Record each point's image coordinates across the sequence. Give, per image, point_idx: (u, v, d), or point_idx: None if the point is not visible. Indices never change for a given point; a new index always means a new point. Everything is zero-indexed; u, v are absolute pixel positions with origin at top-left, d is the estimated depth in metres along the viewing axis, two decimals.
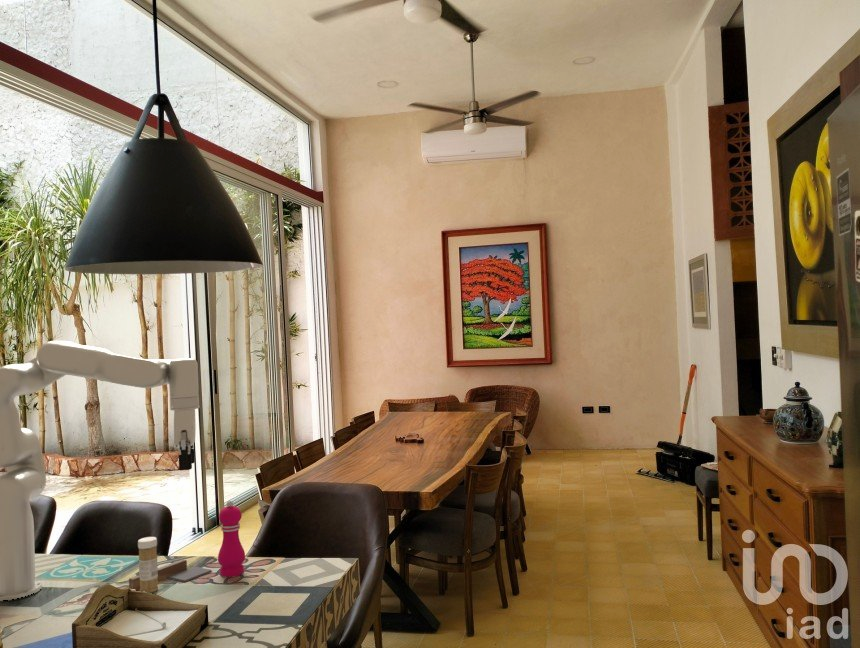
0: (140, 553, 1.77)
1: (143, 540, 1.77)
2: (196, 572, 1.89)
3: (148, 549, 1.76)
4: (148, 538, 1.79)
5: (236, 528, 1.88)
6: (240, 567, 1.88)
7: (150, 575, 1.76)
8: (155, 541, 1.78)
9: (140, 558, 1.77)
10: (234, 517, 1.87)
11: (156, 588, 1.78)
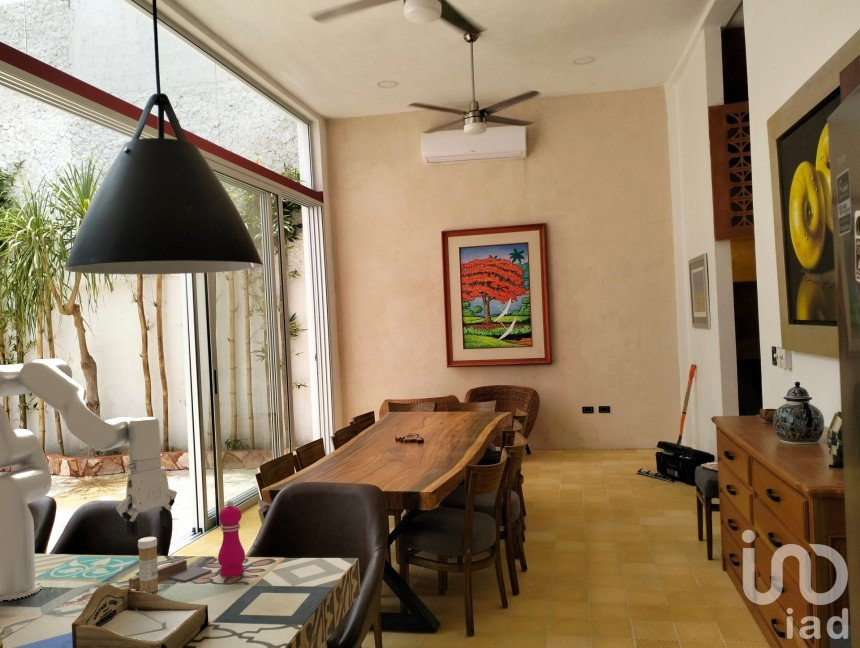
0: (140, 553, 1.77)
1: (143, 540, 1.77)
2: (196, 572, 1.89)
3: (148, 549, 1.76)
4: (148, 538, 1.79)
5: (236, 528, 1.88)
6: (240, 567, 1.88)
7: (150, 575, 1.76)
8: (155, 541, 1.78)
9: (140, 558, 1.77)
10: (234, 517, 1.87)
11: (156, 588, 1.78)
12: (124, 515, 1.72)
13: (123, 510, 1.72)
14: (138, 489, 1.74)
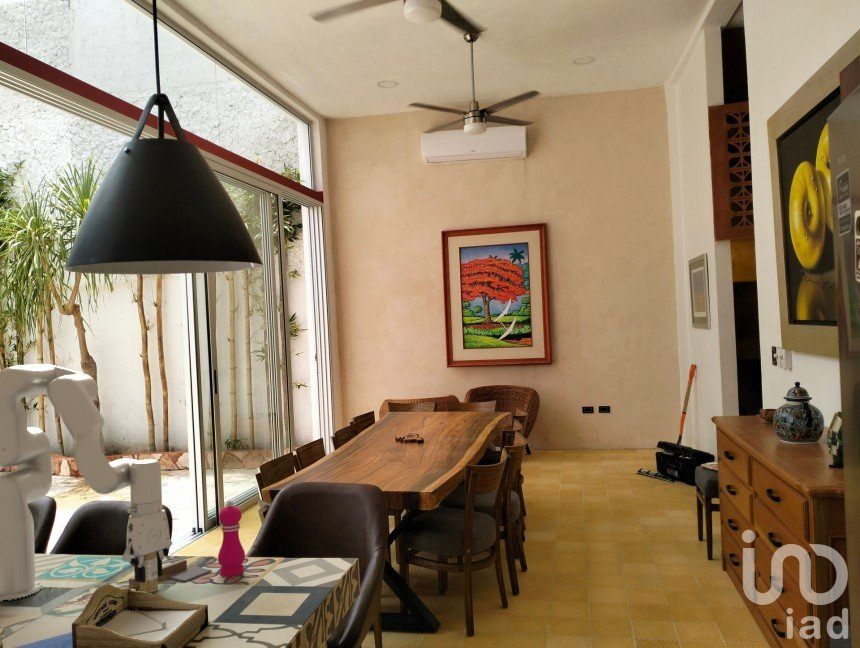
0: None
1: None
2: (196, 572, 1.89)
3: None
4: None
5: (236, 528, 1.88)
6: (240, 567, 1.88)
7: (150, 575, 1.76)
8: None
9: None
10: (234, 517, 1.87)
11: (156, 588, 1.78)
12: (132, 561, 1.73)
13: (129, 558, 1.73)
14: (138, 533, 1.73)
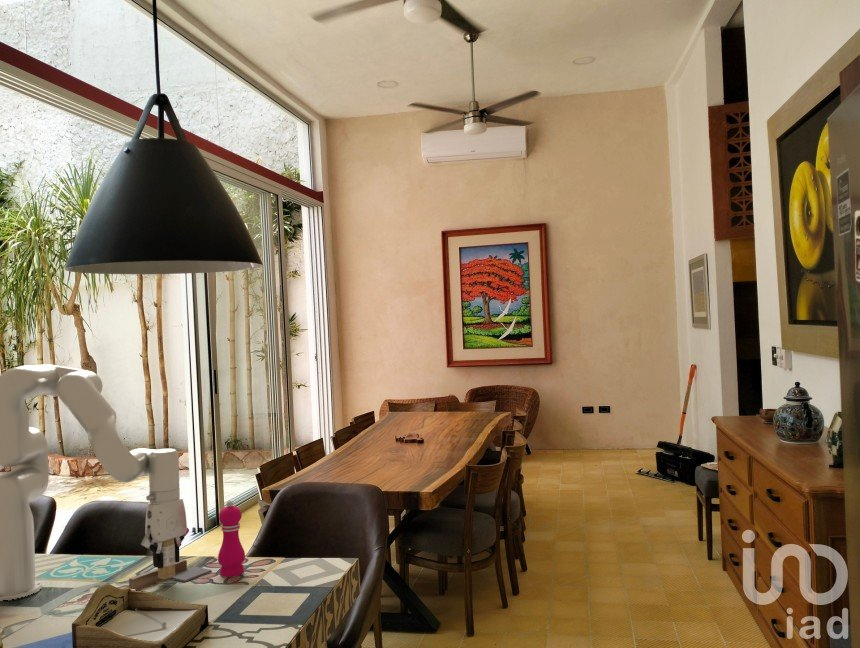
0: None
1: None
2: (196, 572, 1.89)
3: None
4: None
5: (236, 528, 1.88)
6: (240, 567, 1.88)
7: (168, 561, 1.81)
8: None
9: None
10: (234, 517, 1.87)
11: (173, 574, 1.82)
12: (151, 547, 1.78)
13: (148, 544, 1.78)
14: (157, 520, 1.78)
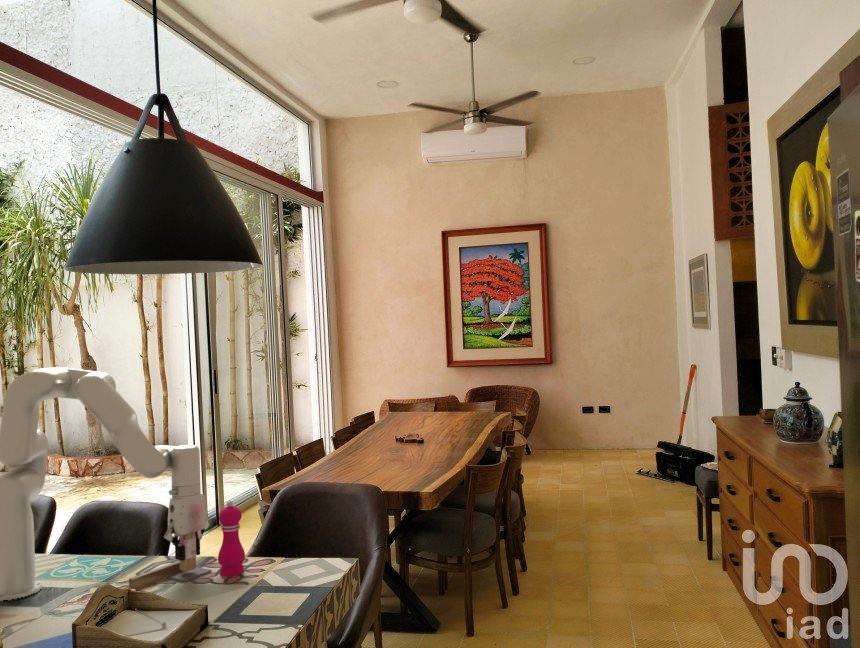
0: None
1: None
2: (196, 572, 1.89)
3: None
4: None
5: (236, 528, 1.88)
6: (240, 567, 1.88)
7: (189, 553, 1.87)
8: None
9: None
10: (234, 517, 1.87)
11: (195, 566, 1.88)
12: (174, 540, 1.84)
13: (171, 537, 1.84)
14: (179, 513, 1.84)
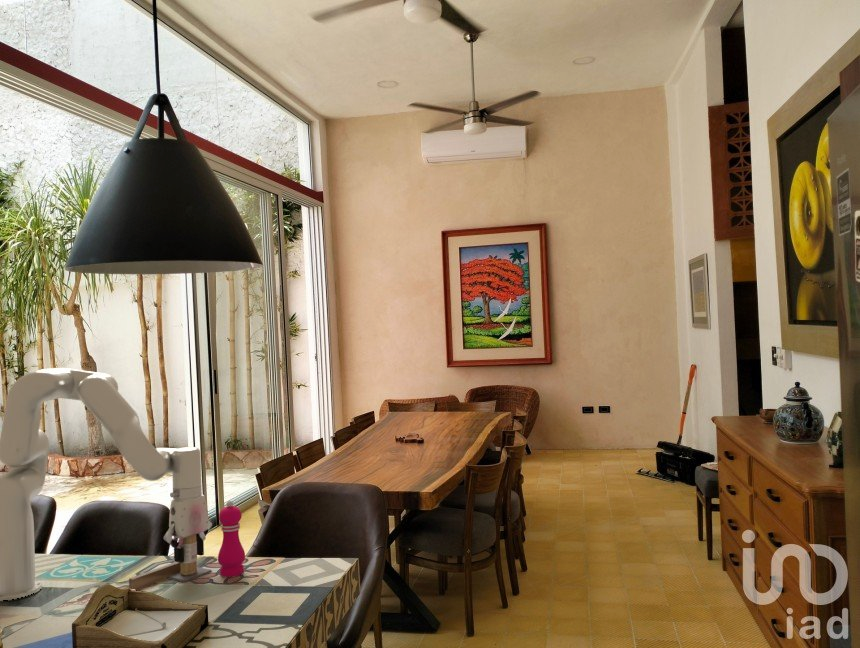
0: None
1: None
2: (196, 572, 1.89)
3: None
4: None
5: (236, 528, 1.88)
6: (240, 567, 1.88)
7: (190, 558, 1.87)
8: None
9: None
10: (234, 517, 1.87)
11: (195, 571, 1.89)
12: (172, 542, 1.84)
13: (170, 539, 1.84)
14: (181, 516, 1.84)
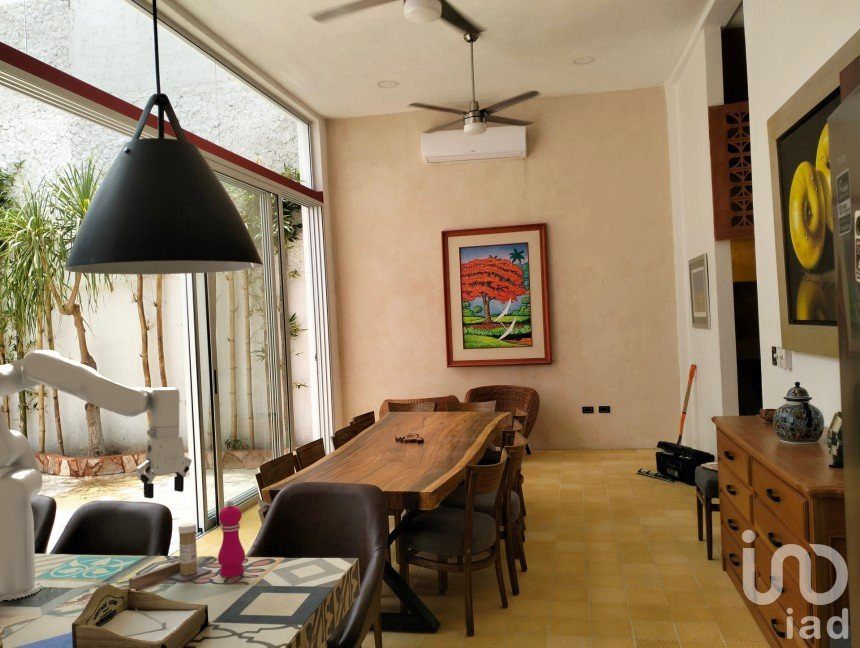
0: (181, 537, 1.88)
1: (183, 525, 1.88)
2: (196, 572, 1.89)
3: (188, 534, 1.87)
4: (188, 524, 1.90)
5: (236, 528, 1.88)
6: (240, 567, 1.88)
7: (190, 558, 1.87)
8: (194, 526, 1.89)
9: (181, 542, 1.88)
10: (234, 517, 1.87)
11: (195, 571, 1.89)
12: (142, 477, 1.83)
13: (141, 472, 1.83)
14: (156, 453, 1.85)
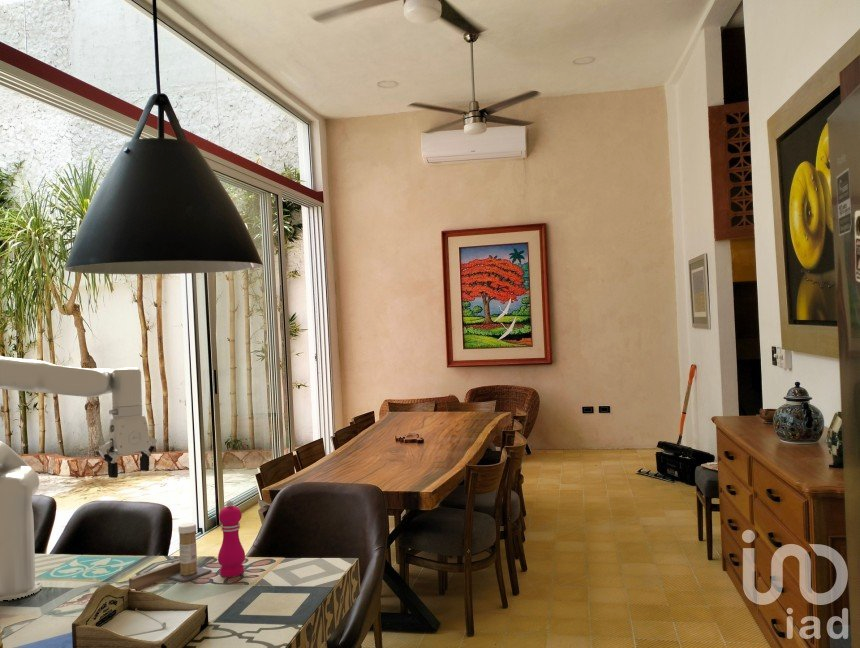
0: (180, 538, 1.88)
1: (183, 525, 1.88)
2: (196, 572, 1.89)
3: (188, 534, 1.87)
4: (188, 524, 1.90)
5: (236, 528, 1.88)
6: (240, 567, 1.88)
7: (190, 558, 1.87)
8: (194, 526, 1.89)
9: (180, 542, 1.88)
10: (234, 517, 1.87)
11: (195, 571, 1.89)
12: (105, 457, 1.83)
13: (104, 452, 1.83)
14: (119, 433, 1.85)
